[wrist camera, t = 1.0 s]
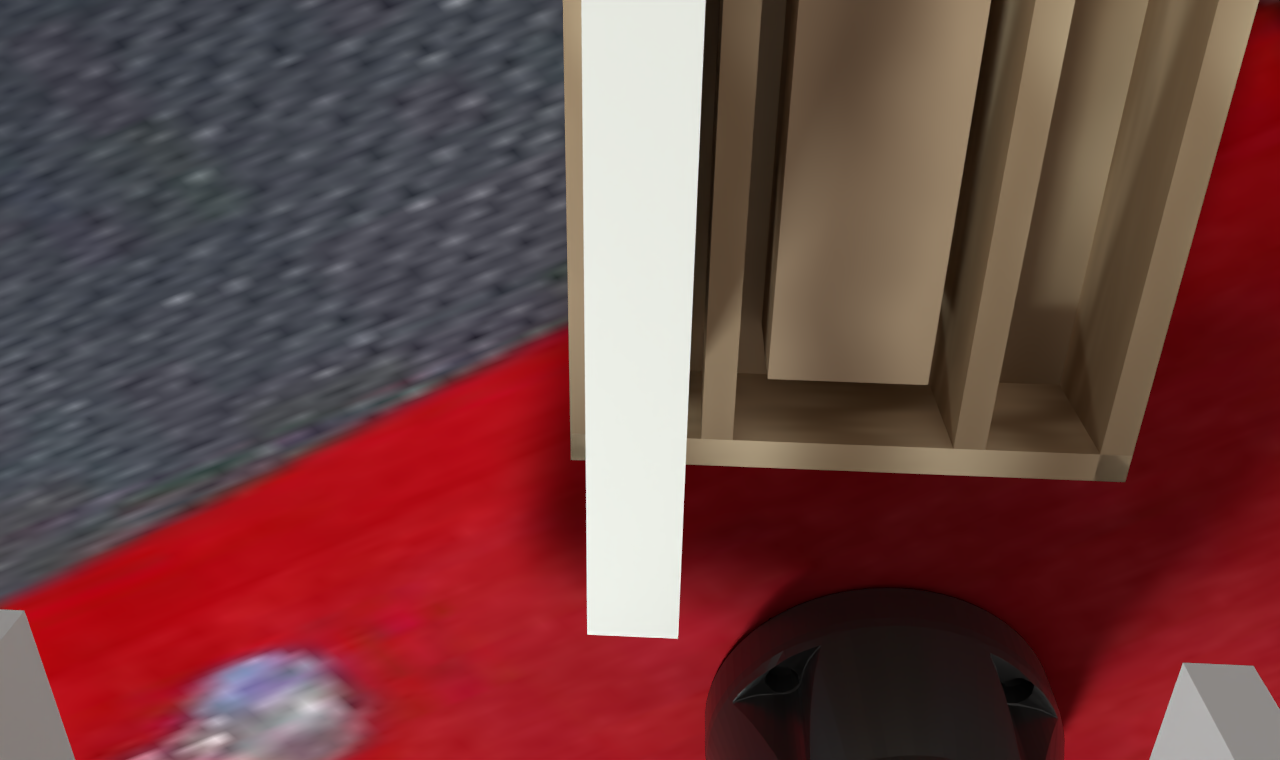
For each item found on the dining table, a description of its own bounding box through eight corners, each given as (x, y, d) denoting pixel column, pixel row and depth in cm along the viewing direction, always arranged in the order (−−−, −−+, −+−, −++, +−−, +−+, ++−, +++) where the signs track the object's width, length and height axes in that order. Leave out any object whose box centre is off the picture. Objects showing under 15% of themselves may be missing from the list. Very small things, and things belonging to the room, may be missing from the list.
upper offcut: (989, -109, 29) (1007, -102, 28) (917, 355, 36) (928, 385, 34) (801, -114, 30) (807, -106, 28) (764, 349, 36) (767, 379, 35)
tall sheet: (704, -122, 31) (707, -35, 17) (686, 320, 38) (678, 638, 24) (634, -123, 31) (580, -38, 17) (628, 318, 38) (587, 634, 24)
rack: (1217, -234, 31) (1324, -234, 25) (1070, 390, 40) (1125, 482, 35) (582, -245, 31) (558, -248, 26) (587, 371, 41) (570, 459, 36)
